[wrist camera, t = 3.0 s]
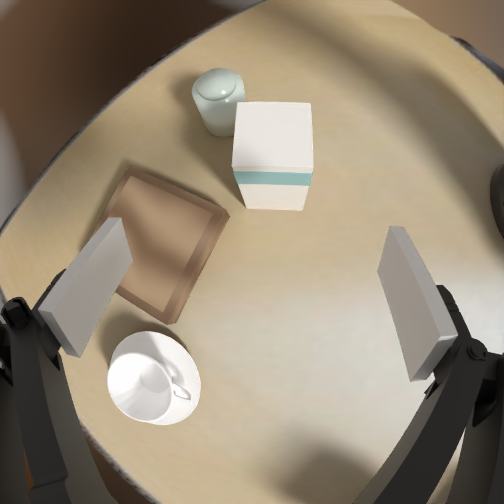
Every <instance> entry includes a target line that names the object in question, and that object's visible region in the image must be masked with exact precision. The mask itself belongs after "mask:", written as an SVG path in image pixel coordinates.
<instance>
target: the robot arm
mask: <svg viewBox="0 0 504 504" xmlns="http://www.w3.org/2000/svg"><path fill="white" fill-rule="evenodd" d="M491 203H492V209H493V213H494V216H495V220H496V222H497V225H498V228H499V230H500V232H501V234H502V236H503V237H504V164H502V165H501V166H499V167H498V168H497V169H496V171H495V172H494V175H493V177H492V181H491ZM132 262H133V260H132V256H131V253H130V249H129V246H128V242H127V239H126V235H125V231H124V227H123V223H122V220H121V218H108V219H107V220H106V221H105V222H104V224H103V225H102V226H101V227H100V228H99V229H98V231H97V232H96V233H95V234H94V235H93V237H92V238H91V239H90V240H89V241H88V243H87V244H86V245H85V246H84V248H83V249H82V250H81V251H80V253H79V254H78V255H77V256H76V258H75V259H74V260H73V261H72V263H71V264H70V265H69V267H68V268H67V269H64V270H63V271H61V272H60V273H59V274H58V275H56V277H55V278H54V279H53V281H52V282H51V285H49V286H48V287H47V289H46V291H45V292H44V293H43V294H42V296H41V297H40V299H39V300H38V301H37V303H36V304H35V306H34V307H33V309H32V310H30V308H29V306H28V305H27V303H26V301H25V299H23V298H22V297H15V298H12V299H11V300H9V301H8V302H7V303H6V304H5V305H4V306H3V308H2V310H1V315H2V317H3V318H4V320H5V321H6V323H7V324H2V322H1V321H0V361H1V362H2V368H0V504H29V499H28V491H27V483H26V473H25V459H24V449H25V453H26V457H27V461H28V464H29V468H30V471H31V475H32V477H33V482H34V487H33V488H31V489H30V490H29V498H30V502H31V504H118V503H117V501H116V500H115V499H114V498H113V497H112V496H111V495H110V494H109V492H108V491H107V489H106V487H105V485H104V482H103V481H102V478H101V476H100V474H99V472H98V469H97V467H96V465H95V462H94V460H93V458H92V455H91V453H90V450H89V448H88V445H87V443H86V440H85V437H84V434H83V431H82V429H81V426H80V423H79V420H78V417H77V414H76V411H75V407H74V404H73V401H72V397H71V394H70V390H69V387H68V383H67V379H66V375H65V371H64V367H63V363H62V359H61V356H60V354H59V352H58V350H59V349H60V347H61V346H62V348H63V349H64V351H65V352H66V354H68V355H72V356H75V357H79V358H80V357H81V355H82V353H83V351H84V349H85V347H86V345H87V343H88V341H89V339H90V337H91V335H92V333H93V331H94V329H95V327H96V326H97V324H98V322H99V320H100V318H101V316H102V314H103V312H104V311H105V309H106V307H107V305H108V303H109V301H110V300H111V298H112V296H113V294H114V292H115V291H116V289H117V287H118V285H119V284H120V282H121V280H122V279H123V277H124V275H125V273H126V272H127V270H128V268H129V267H130V265H131V263H132ZM377 272H378V275H379V278H380V281H381V284H382V286H383V289H384V292H385V295H386V298H387V302H388V305H389V308H390V311H391V314H392V317H393V321H394V324H395V327H396V331H397V334H398V338H399V341H400V345H401V348H402V352H403V356H404V359H405V363H406V367H407V371H408V375H409V379H410V382H411V381H419V380H427V378H428V377H429V376H430V374H431V373H432V372H433V373H434V376H435V380H434V381H433V383H432V384H431V385H430V386H429V387H428V389H427V390H426V391H425V392H424V393H425V394H426V396H425V398H424V400H423V402H422V403H421V405H420V407H419V409H418V411H417V412H416V414H415V416H414V418H413V419H412V421H411V423H410V424H409V426H408V428H407V429H406V431H405V433H404V434H403V436H402V437H401V439H400V440H399V442H398V444H397V445H396V447H395V448H394V450H393V451H392V453H391V454H390V456H389V457H388V458H387V460H386V461H385V463H384V464H383V466H382V467H381V468H380V470H379V471H378V472H377V474H376V475H375V476H374V478H373V479H372V480H371V482H370V483H369V484H368V485H367V487H366V488H365V489H364V490H363V492H362V493H361V494H360V495H359V497H358V498H357V499H356V500H355V501H354V503H353V504H426V502H427V501H428V499H429V498H430V496H431V494H432V493H433V491H434V489H435V488H436V486H437V484H438V482H439V481H440V479H441V477H442V475H443V473H444V472H445V470H446V468H447V466H448V464H449V462H450V460H451V458H452V456H453V454H454V452H455V450H456V448H457V445H458V443H459V441H460V439H461V437H462V434H463V432H464V430H465V434H464V439H463V444H462V449H461V453H460V457H459V461H458V465H457V469H456V473H455V477H454V480H453V483H452V487H451V490H450V493H449V496H448V499H447V502H446V504H504V353H503V354H502V355H500V354H495V353H491V352H488V351H487V348H486V347H485V346H484V344H483V343H482V342H480V341H479V340H477V339H474V338H472V337H471V335H470V332H469V330H468V328H467V326H466V323H465V321H464V319H463V317H462V315H461V313H460V312H459V309H458V307H457V304H455V303H456V302H455V300H454V298H453V296H452V295H451V293H450V292H449V291H448V290H447V289H446V288H445V287H444V286H443V285H435V283H434V281H433V279H432V277H431V275H430V273H429V271H428V269H427V268H426V266H425V264H424V262H423V260H422V258H421V256H420V255H419V253H418V251H417V249H416V247H415V246H414V244H413V242H412V240H411V239H410V237H409V235H408V234H407V232H406V230H405V228H404V227H398V226H389V230H388V234H387V238H386V242H385V246H384V249H383V253H382V256H381V260H380V263H379V267H378V270H377ZM465 427H466V429H465Z"/></svg>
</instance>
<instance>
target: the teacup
mask: <svg viewBox="0 0 504 504" xmlns="http://www.w3.org/2000/svg"><path fill="white" fill-rule="evenodd" d="M107 385H108V390H109V393H110V395H111V398H112V400H113V401H114V403H115V404H116V406H117V407H118V408H119V409H120V410H121V411H122V412H123V413H124V414H126V415H127V416H129V417H130V418H132V419H135V420H138V421H142V422H148V423H152V424H157V425H171V424H174V423H177V422H180V421H182V420H183V419H185V418H186V417H187V416H189V415H190V414H191V413H192V411H193V410H194V408H195V407H196V406H197V403H198V400H199V397H200V389H201V381H200V377H199V372H198V368H197V367H196V365H195V363H194V361H193V359H192V357H191V355H190V354H189V353H188V352H187V351H186V350H185V348H184V347H183V346H182V345H181V344H179V343H178V342H176V341H175V340H174V339H172V338H171V337H169V336H166V335H164V334H161V333H159V332H151V331H143V332H136V333H134V334H132V335H130V336H127V337H126V338H124V339H123V340H122V341H121V342H120V343H119V344H118V345H117V347H116V349H115V351H114V352H113V354H112V358H111V362H110V368H109V370H108V375H107Z"/></svg>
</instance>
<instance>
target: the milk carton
mask: <svg viewBox="0 0 504 504" xmlns="http://www.w3.org/2000/svg"><path fill="white" fill-rule="evenodd" d="M232 168H233V173H234V176H235V179H236V182H237V184H238V185H239V188H240V191H241V194H242V197H243V199H244V202H245V205H246V208H247V209H275V210H303V206H304V203H305V199H306V195H307V191H308V187H309V186H310V182H311V178H312V174H313V138H312V116H311V103H293V102H237V111H236V122H235V133H234V144H233V156H232Z"/></svg>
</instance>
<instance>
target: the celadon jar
mask: <svg viewBox="0 0 504 504" xmlns="http://www.w3.org/2000/svg"><path fill="white" fill-rule="evenodd" d="M192 96H193V98H194V101H195V103H196V105H197V108H198V110H199V112H200V115H201V117H202V119H203V122H204V124H205V126H206V129H207V130H208V131H209V132H210V133H211V134H213V135H215V136H218V137H229V136H233V135H234V133H235V122H236V111H237V102H246V97H245V91H244V85H243V81H242V78H241V77H240V76H239V75H238V74H237V73H236V72H234V71H231V70H227V69H222V68H217V69H212V70H209V71H207V72H205V73H203V74H202V75H201V76H200V77H199V78H198V79H197V80H196V81H195V83H194V85H193V87H192Z"/></svg>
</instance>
